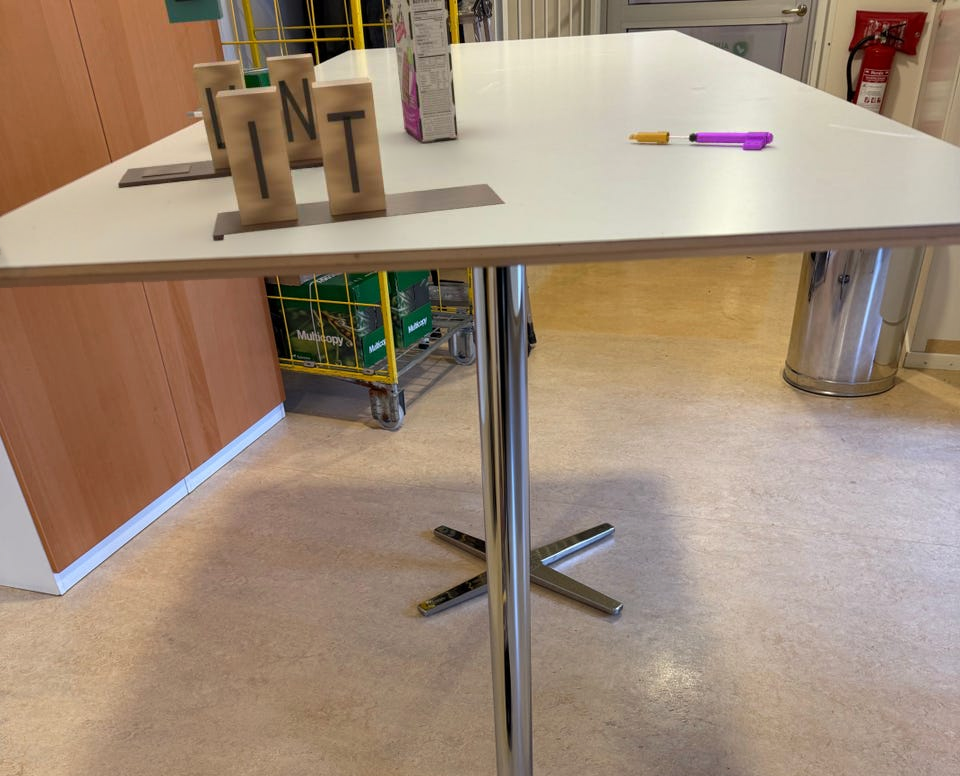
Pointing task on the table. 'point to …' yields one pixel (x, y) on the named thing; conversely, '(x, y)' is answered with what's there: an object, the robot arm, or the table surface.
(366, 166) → the front word
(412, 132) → the candy bar box
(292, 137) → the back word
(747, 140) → the marker pen
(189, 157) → the table surface
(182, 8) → the teal rectangular slab
